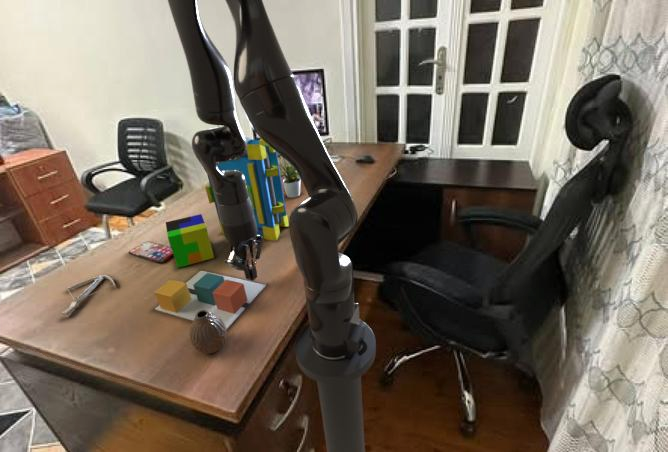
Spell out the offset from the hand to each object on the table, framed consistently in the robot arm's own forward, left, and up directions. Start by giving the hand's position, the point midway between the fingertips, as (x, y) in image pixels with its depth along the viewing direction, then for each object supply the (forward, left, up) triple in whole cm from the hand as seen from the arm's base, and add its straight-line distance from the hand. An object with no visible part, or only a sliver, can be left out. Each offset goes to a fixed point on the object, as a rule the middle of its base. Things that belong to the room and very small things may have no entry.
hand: (252, 278), depth 87 cm
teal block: (+7, +7, -2) cm, 10 cm away
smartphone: (+39, -4, -3) cm, 39 cm away
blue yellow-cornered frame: (+16, -25, -3) cm, 30 cm away
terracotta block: (+1, +8, -2) cm, 8 cm away
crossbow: (+40, +17, -3) cm, 44 cm away
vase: (-3, +19, -3) cm, 20 cm away
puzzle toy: (+26, -7, -3) cm, 27 cm away
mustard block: (+14, +12, -2) cm, 19 cm away
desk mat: (+8, +7, -3) cm, 11 cm away
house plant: (+19, -53, -3) cm, 56 cm away
